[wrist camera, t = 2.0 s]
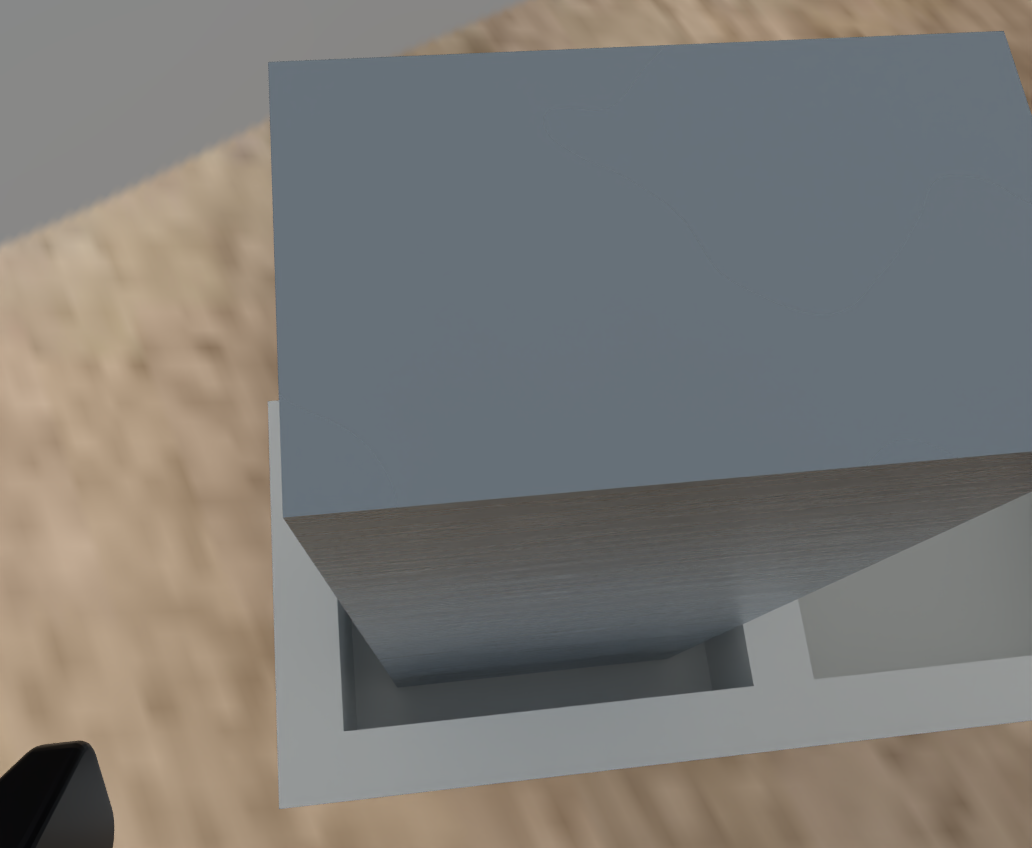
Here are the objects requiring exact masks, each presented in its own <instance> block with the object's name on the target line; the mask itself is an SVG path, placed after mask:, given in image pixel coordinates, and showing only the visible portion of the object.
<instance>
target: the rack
mask: <svg viewBox="0 0 1032 848" xmlns="http://www.w3.org/2000/svg"><path fill="white" fill-rule="evenodd" d="M268 424H269V460H270V496H271V532H272V568H273V604H274V640H275V676H276V712H277V748H278V784H279V809H284V808H292V807H301V806H309V805H318V804H326V803H335V802H343V801H352V800H360V799H369V798H377V797H386V796H394V795H403V794H411V793H420V792H428V791H437V790H445V789H454V788H462V787H471V786H479V785H488V784H496V783H505V782H513V781H522V780H530V779H539V778H547V777H556V776H564V775H573V774H581V773H590V772H598V771H607V770H615V769H624V768H632V767H641V766H649V765H658V764H666V763H675V762H683V761H692V760H700V759H709V758H717V757H726V756H734V755H743V754H751V753H760V752H768V751H777V750H785V749H794V748H802V747H811V746H819V745H827V744H836V743H844V742H853V741H861V740H870V739H878V738H887V737H895V736H904V735H912V734H921V733H929V732H938V731H946V730H955V729H963V728H972V727H980V726H989V725H997V724H1006V723H1014V722H1023V721H1031V720H1032V492H1030V493H1028V494H1026V495H1023V496H1021V497H1019V498H1017V499H1015V500H1012V501H1010V502H1008V503H1006V504H1004V505H1002V506H999V507H997V508H995V509H993V510H991V511H988V512H986V513H984V514H982V515H980V516H978V517H975V518H973V519H971V520H969V521H967V522H965V523H962V524H960V525H958V526H956V527H954V528H951V529H949V530H947V531H945V532H943V533H941V534H938V535H936V536H934V537H932V538H930V539H927V540H925V541H923V542H921V543H919V544H917V545H914V546H912V547H910V548H908V549H906V550H903V551H901V552H899V553H897V554H895V555H893V556H890V557H888V558H886V559H884V560H882V561H880V562H877V563H875V564H873V565H871V566H869V567H866V568H864V569H862V570H860V571H858V572H856V573H853V574H851V575H849V576H847V577H845V578H842V579H840V580H838V581H836V582H834V583H832V584H829V585H827V586H825V587H823V588H821V589H818V590H816V591H814V592H812V593H810V594H808V595H805V596H803V597H801V598H799V599H797V600H795V601H792V602H790V603H788V604H786V605H784V606H781V607H779V608H777V609H775V610H773V611H771V612H768V613H766V614H764V615H762V616H760V617H757V618H755V619H753V620H751V621H749V622H747V623H744V624H742V625H740V626H738V627H736V628H733V629H731V630H729V631H727V632H725V633H723V634H720V635H718V636H716V637H714V638H712V639H710V640H707V641H705V642H703V643H701V644H699V645H696V646H694V647H692V648H690V649H688V650H686V651H683V652H681V653H679V654H677V655H675V656H672V657H670V658H668V659H661V660H652V661H642V662H633V663H624V664H614V665H605V666H595V667H586V668H577V669H567V670H558V671H549V672H539V673H530V674H520V675H511V676H502V677H492V678H483V679H474V680H464V681H455V682H446V683H436V684H427V685H417V686H408V687H399V688H397V686H396V685H395V683H394V682H393V680H392V679H391V677H390V676H389V674H388V673H387V671H386V670H385V668H384V667H383V665H382V664H381V662H380V661H379V660H378V658H377V657H376V655H375V654H374V652H373V651H372V649H371V648H370V646H369V645H368V643H367V642H366V640H365V639H364V637H363V636H362V634H361V633H360V631H359V630H358V628H357V627H356V625H355V624H354V622H353V621H352V620H351V618H350V617H349V615H348V614H347V612H346V611H345V609H344V608H343V606H342V605H341V603H340V602H339V600H338V599H337V597H336V596H335V594H334V593H333V591H332V590H331V588H330V587H329V585H328V584H327V582H326V581H325V580H324V578H323V577H322V575H321V574H320V572H319V571H318V569H317V568H316V566H315V565H314V563H313V562H312V560H311V559H310V557H309V556H308V554H307V553H306V551H305V550H304V548H303V547H302V545H301V544H300V542H299V541H298V540H297V538H296V537H295V535H294V534H293V532H292V531H291V529H290V528H289V526H288V525H287V523H286V522H285V520H284V519H283V510H282V479H281V447H280V416H279V401H268Z"/></svg>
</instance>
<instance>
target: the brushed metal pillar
mask: <svg viewBox="0 0 1032 848" xmlns="http://www.w3.org/2000/svg"><path fill="white" fill-rule="evenodd" d="M268 67H269V68H268V69H269V99H270V100H269V101H270V132H271V164H272V195H273V227H274V258H275V290H276V321H277V353H278V384H279V416H280V447H281V479H282V510H283V519H284V520H285V522H286V523H287V525H288V526H289V528H290V529H291V531H292V532H293V534H294V535H295V537H296V538H297V540H298V541H299V542H300V544H301V545H302V547H303V548H304V550H305V551H306V553H307V554H308V556H309V557H310V559H311V560H312V562H313V563H314V565H315V566H316V568H317V569H318V571H319V572H320V574H321V575H322V577H323V578H324V580H325V581H326V582H327V584H328V585H329V587H330V588H331V590H332V591H333V593H334V594H335V596H336V597H337V599H338V600H339V602H340V603H341V605H342V606H343V608H344V609H345V611H346V612H347V614H348V615H349V617H350V618H351V620H352V621H353V622H354V624H355V625H356V627H357V628H358V630H359V631H360V633H361V634H362V636H363V637H364V639H365V640H366V642H367V643H368V645H369V646H370V648H371V649H372V651H373V652H374V654H375V655H376V657H377V658H378V660H379V661H380V662H381V664H382V665H383V667H384V668H385V670H386V671H387V673H388V674H389V676H390V677H391V679H392V680H393V682H394V683H395V685H396V686H397V688H399V687H408V686H417V685H427V684H436V683H446V682H455V681H464V680H474V679H483V678H492V677H502V676H511V675H520V674H530V673H539V672H549V671H558V670H567V669H577V668H586V667H595V666H605V665H614V664H624V663H633V662H642V661H652V660H661V659H668V658H670V657H672V656H675V655H677V654H679V653H681V652H683V651H686V650H688V649H690V648H692V647H694V646H696V645H699V644H701V643H703V642H705V641H707V640H710V639H712V638H714V637H716V636H718V635H720V634H723V633H725V632H727V631H729V630H731V629H733V628H736V627H738V626H740V625H742V624H744V623H747V622H749V621H751V620H753V619H755V618H757V617H760V616H762V615H764V614H766V613H768V612H771V611H773V610H775V609H777V608H779V607H781V606H784V605H786V604H788V603H790V602H792V601H795V600H797V599H799V598H801V597H803V596H805V595H808V594H810V593H812V592H814V591H816V590H818V589H821V588H823V587H825V586H827V585H829V584H832V583H834V582H836V581H838V580H840V579H842V578H845V577H847V576H849V575H851V574H853V573H856V572H858V571H860V570H862V569H864V568H866V567H869V566H871V565H873V564H875V563H877V562H880V561H882V560H884V559H886V558H888V557H890V556H893V555H895V554H897V553H899V552H901V551H903V550H906V549H908V548H910V547H912V546H914V545H917V544H919V543H921V542H923V541H925V540H927V539H930V538H932V537H934V536H936V535H938V534H941V533H943V532H945V531H947V530H949V529H951V528H954V527H956V526H958V525H960V524H962V523H965V522H967V521H969V520H971V519H973V518H975V517H978V516H980V515H982V514H984V513H986V512H988V511H991V510H993V509H995V508H997V507H999V506H1002V505H1004V504H1006V503H1008V502H1010V501H1012V500H1015V499H1017V498H1019V497H1021V496H1023V495H1026V494H1028V493H1030V492H1032V115H1031V112H1030V109H1029V106H1028V103H1027V100H1026V97H1025V94H1024V91H1023V88H1022V85H1021V82H1020V78H1019V75H1018V72H1017V69H1016V66H1015V63H1014V60H1013V57H1012V54H1011V51H1010V48H1009V45H1008V42H1007V39H1006V36H1005V33H1004V31H992V32H968V33H945V34H921V35H897V36H874V37H850V38H826V39H803V40H779V41H755V42H732V43H708V44H684V45H660V46H637V47H613V48H589V49H566V50H542V51H518V52H495V53H471V54H447V55H424V56H400V57H376V58H353V59H329V60H305V61H282V62H269V63H268Z"/></svg>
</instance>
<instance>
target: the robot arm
mask: <svg viewBox="0 0 1032 848" xmlns="http://www.w3.org/2000/svg"><path fill="white" fill-rule="evenodd" d="M113 841H114V817H113V811H112V807H111V804H110V801H109V797H108V794H107V791H106V787H105V784H104V781H103V777H102V774H101V771H100V767H99V764H98V761H97V757H96V754H95V752H94V750H93V748H92V747H91V745H90V744H89V743H87V742H84V741H71V742H62V743H53V744H44V745H40V746H37V747H35V748H33V749H31V750H30V751H29V752H28V753H26V754H25V755H24V756H23V757H22V758H21V759H20V760H19V761H18V762H17V763H16V764H15V765H13V766H12V767H11V768H10V769H9V770H8V771H7V772H6V773H5V774H4V775H3V776H2V777H1V778H0V848H113Z"/></svg>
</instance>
